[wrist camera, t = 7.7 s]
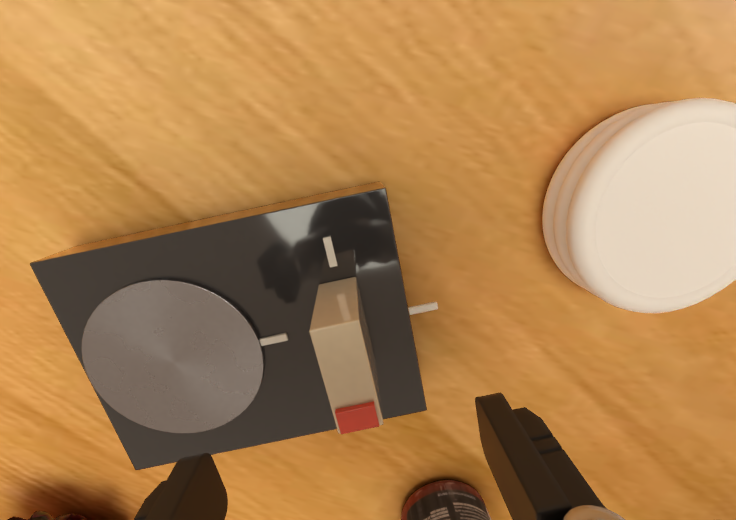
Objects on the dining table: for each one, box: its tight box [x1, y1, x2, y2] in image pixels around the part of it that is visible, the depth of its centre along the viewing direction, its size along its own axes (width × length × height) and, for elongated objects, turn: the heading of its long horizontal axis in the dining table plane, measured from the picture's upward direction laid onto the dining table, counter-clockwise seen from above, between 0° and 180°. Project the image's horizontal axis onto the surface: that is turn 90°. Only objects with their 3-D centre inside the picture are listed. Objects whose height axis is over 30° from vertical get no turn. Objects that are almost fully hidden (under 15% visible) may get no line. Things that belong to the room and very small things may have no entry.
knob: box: [309, 277, 383, 434], centre depth 15 cm, size 5×2×5 cm, turn 12°
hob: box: [30, 182, 438, 470], centre depth 19 cm, size 17×12×3 cm
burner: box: [82, 278, 265, 433], centre depth 18 cm, size 8×8×1 cm
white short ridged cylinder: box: [542, 98, 736, 313], centre depth 18 cm, size 10×10×4 cm
